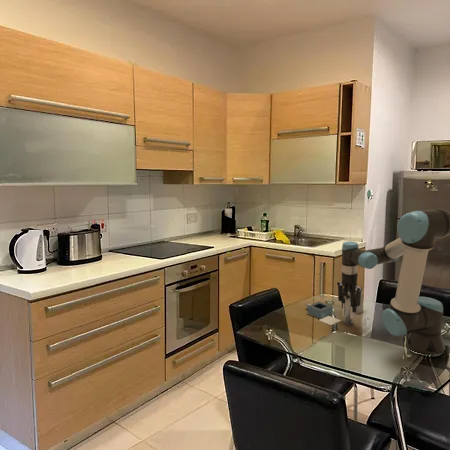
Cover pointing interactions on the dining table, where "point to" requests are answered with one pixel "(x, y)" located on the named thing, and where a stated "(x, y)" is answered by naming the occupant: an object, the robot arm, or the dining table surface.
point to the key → (348, 309)
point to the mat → (329, 320)
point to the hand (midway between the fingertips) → (348, 316)
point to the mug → (360, 308)
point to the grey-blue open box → (319, 309)
